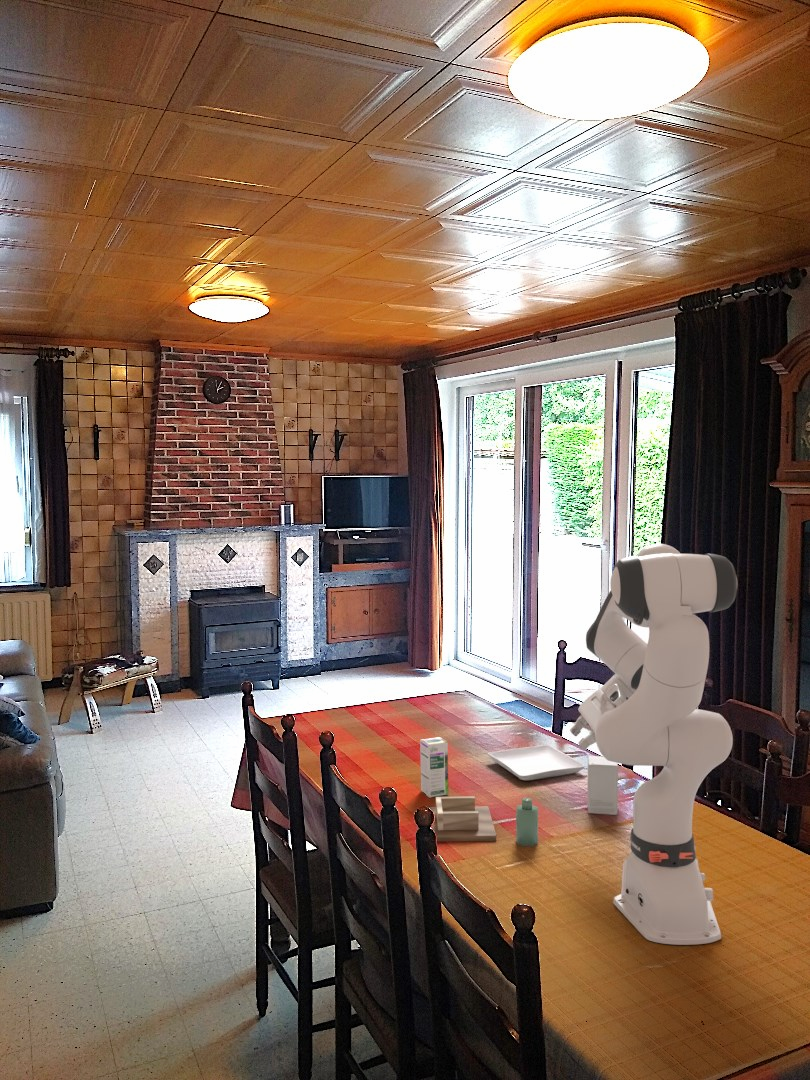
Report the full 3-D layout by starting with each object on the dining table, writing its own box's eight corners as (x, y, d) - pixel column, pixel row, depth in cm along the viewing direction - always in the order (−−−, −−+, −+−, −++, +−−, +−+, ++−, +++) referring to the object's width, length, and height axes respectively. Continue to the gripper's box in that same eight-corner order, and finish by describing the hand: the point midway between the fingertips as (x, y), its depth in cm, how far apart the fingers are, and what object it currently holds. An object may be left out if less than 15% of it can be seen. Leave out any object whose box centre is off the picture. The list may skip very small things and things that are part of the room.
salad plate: (587, 776, 245) (587, 764, 244) (521, 787, 237) (521, 774, 237) (548, 754, 264) (548, 743, 264) (485, 763, 257) (485, 752, 256)
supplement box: (618, 815, 215) (618, 765, 215) (587, 813, 217) (587, 764, 216) (616, 804, 223) (617, 756, 222) (587, 802, 224) (587, 754, 223)
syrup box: (429, 798, 229) (428, 744, 228) (420, 791, 234) (419, 738, 233) (448, 795, 231) (448, 741, 230) (439, 787, 236) (439, 735, 235)
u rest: (496, 840, 202) (496, 818, 201) (427, 841, 201) (427, 819, 201) (488, 810, 219) (488, 790, 219) (425, 811, 219) (424, 791, 219)
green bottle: (539, 846, 198) (539, 803, 197) (517, 846, 198) (517, 804, 197) (536, 837, 203) (536, 795, 202) (514, 837, 203) (514, 795, 202)
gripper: (599, 676, 209) (558, 717, 209) (621, 700, 188) (576, 745, 189) (617, 694, 209) (576, 735, 210) (641, 720, 189) (596, 764, 189)
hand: (576, 740), depth 199 cm, fingers open, 8 cm apart
